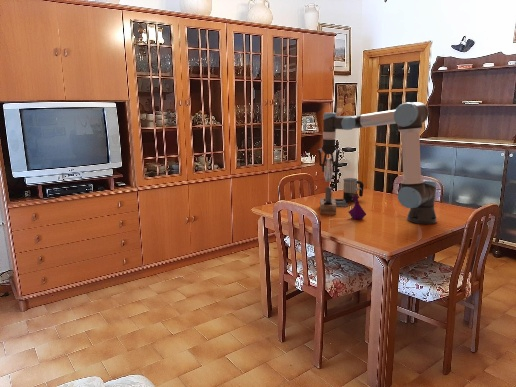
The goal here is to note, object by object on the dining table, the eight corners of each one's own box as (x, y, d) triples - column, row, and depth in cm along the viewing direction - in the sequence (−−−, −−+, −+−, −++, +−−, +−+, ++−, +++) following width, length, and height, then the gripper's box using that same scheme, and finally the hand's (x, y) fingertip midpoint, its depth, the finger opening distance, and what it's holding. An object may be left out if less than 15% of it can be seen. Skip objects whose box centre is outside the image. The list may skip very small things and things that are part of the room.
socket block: (347, 206, 255) (348, 202, 254) (331, 206, 256) (331, 201, 256) (346, 202, 265) (346, 198, 264) (331, 202, 266) (331, 198, 265)
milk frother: (348, 203, 264) (349, 180, 261) (333, 198, 278) (334, 177, 275) (365, 200, 271) (366, 178, 267) (349, 195, 284) (350, 175, 281)
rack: (335, 214, 238) (336, 205, 236) (320, 214, 239) (320, 205, 238) (334, 206, 255) (334, 198, 254) (319, 206, 256) (320, 198, 255)
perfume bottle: (354, 220, 225) (355, 189, 221) (348, 217, 232) (349, 186, 228) (366, 219, 227) (367, 188, 223) (359, 216, 234) (360, 186, 230)
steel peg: (331, 181, 245) (331, 159, 242) (325, 181, 246) (325, 159, 243) (330, 180, 249) (331, 158, 246) (325, 180, 249) (325, 158, 246)
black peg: (331, 210, 240) (331, 188, 237) (325, 210, 241) (325, 188, 238) (330, 209, 244) (331, 186, 241) (324, 209, 244) (325, 186, 241)
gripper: (342, 138, 244) (341, 176, 249) (315, 138, 246) (314, 175, 252) (343, 139, 237) (342, 178, 242) (315, 139, 239) (314, 178, 244)
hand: (328, 177), depth 247 cm, fingers closed on steel peg, 4 cm apart
